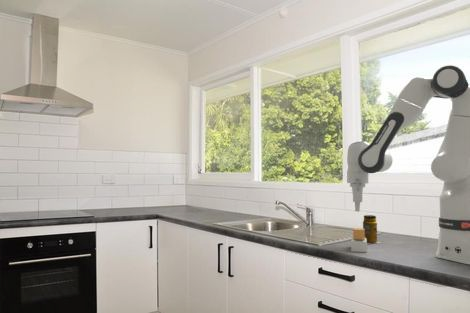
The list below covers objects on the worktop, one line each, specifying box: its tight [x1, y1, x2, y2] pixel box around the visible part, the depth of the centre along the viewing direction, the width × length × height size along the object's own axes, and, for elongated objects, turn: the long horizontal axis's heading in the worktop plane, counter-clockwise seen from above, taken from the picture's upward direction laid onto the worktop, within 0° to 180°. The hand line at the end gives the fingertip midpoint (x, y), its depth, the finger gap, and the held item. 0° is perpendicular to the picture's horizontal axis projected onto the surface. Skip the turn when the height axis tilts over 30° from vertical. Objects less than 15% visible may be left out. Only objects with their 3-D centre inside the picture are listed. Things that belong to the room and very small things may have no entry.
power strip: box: [350, 236, 368, 253], centre depth 154 cm, size 10×6×4 cm, turn 162°
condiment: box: [362, 214, 382, 245], centre depth 170 cm, size 7×8×12 cm
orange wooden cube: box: [352, 227, 365, 240], centre depth 154 cm, size 4×4×4 cm
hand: (357, 211), depth 161 cm, fingers closed
